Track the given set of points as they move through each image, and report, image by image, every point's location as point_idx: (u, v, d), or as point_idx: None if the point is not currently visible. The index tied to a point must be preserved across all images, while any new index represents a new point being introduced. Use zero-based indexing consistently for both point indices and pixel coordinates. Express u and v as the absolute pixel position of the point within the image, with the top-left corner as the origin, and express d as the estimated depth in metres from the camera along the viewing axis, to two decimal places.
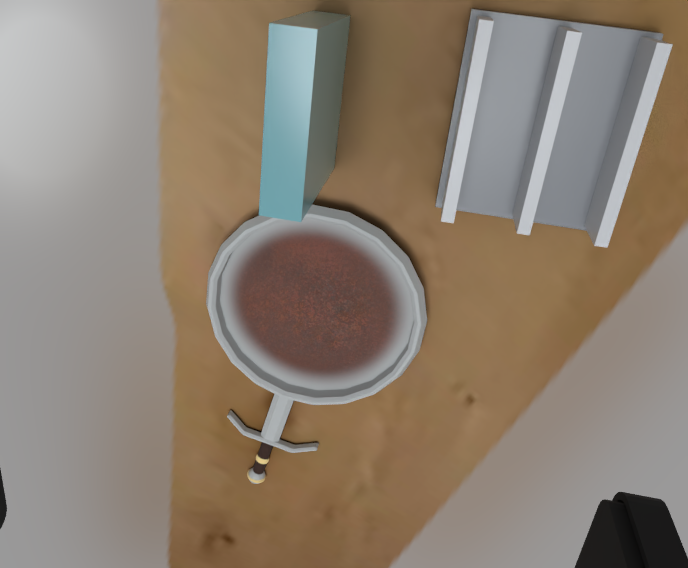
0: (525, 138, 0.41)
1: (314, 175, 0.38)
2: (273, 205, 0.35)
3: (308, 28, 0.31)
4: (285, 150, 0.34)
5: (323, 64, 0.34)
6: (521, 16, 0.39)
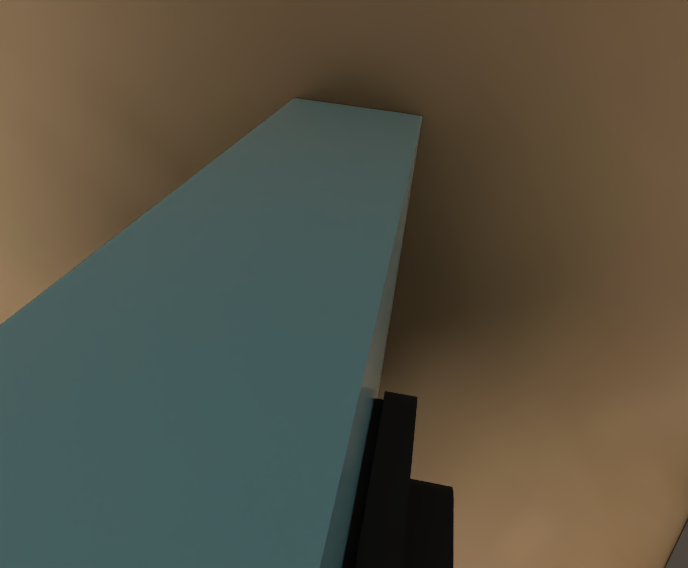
0: None
1: None
2: None
3: None
4: None
5: None
6: None
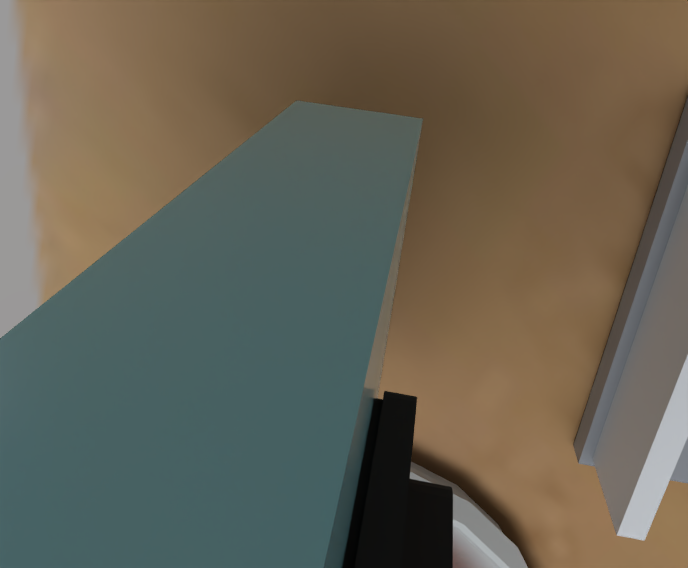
0: None
1: None
2: None
3: None
4: None
5: (338, 562, 0.05)
6: None
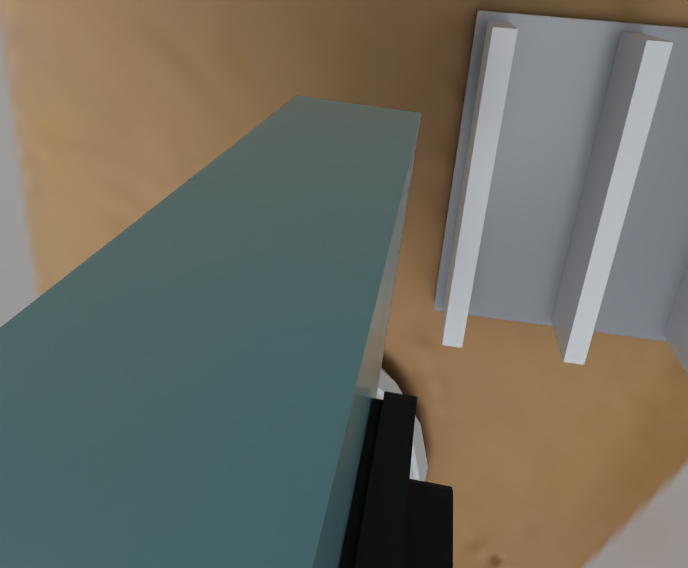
0: (569, 208, 0.26)
1: None
2: None
3: None
4: None
5: (338, 537, 0.05)
6: (559, 19, 0.24)
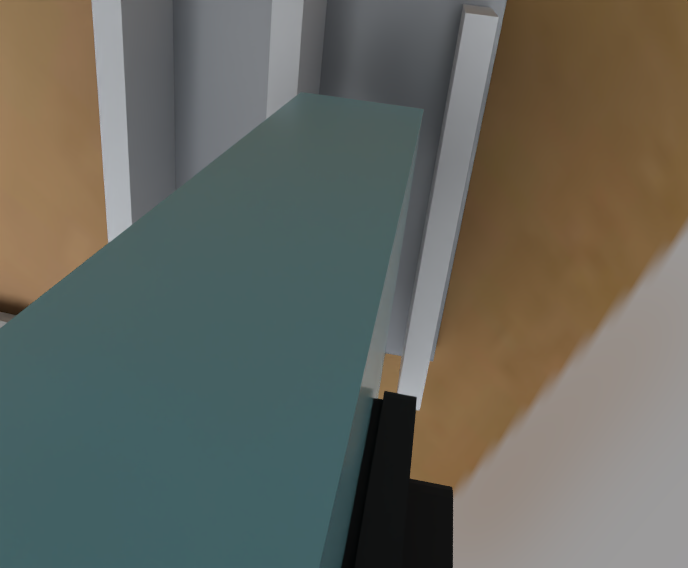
0: None
1: None
2: None
3: None
4: None
5: (346, 514, 0.06)
6: None
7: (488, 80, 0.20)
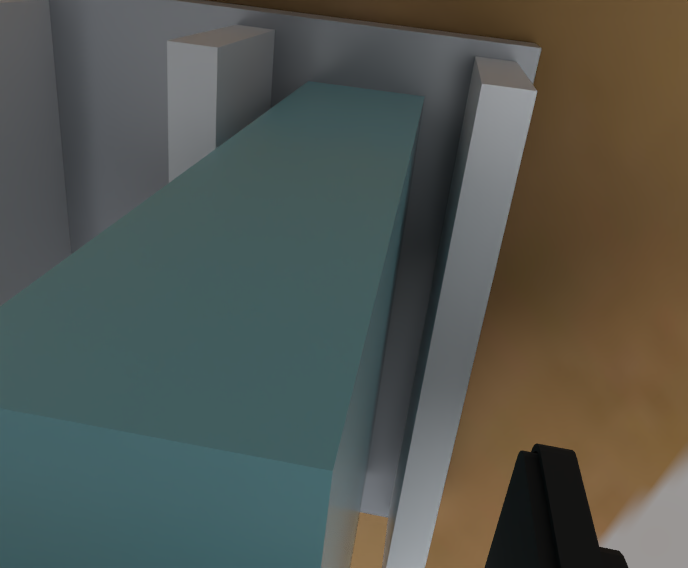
0: None
1: None
2: None
3: (247, 444, 0.03)
4: None
5: (358, 441, 0.06)
6: None
7: None
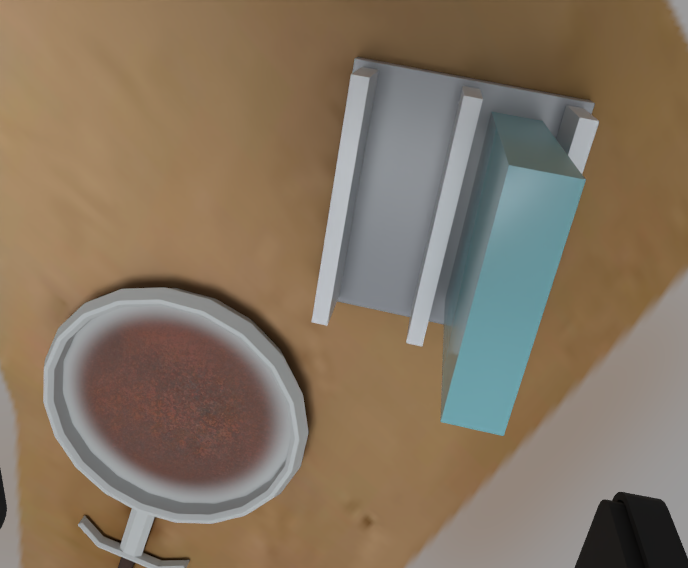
0: (424, 221, 0.33)
1: None
2: (464, 410, 0.24)
3: (569, 176, 0.20)
4: (499, 341, 0.23)
5: None
6: (417, 71, 0.30)
7: None
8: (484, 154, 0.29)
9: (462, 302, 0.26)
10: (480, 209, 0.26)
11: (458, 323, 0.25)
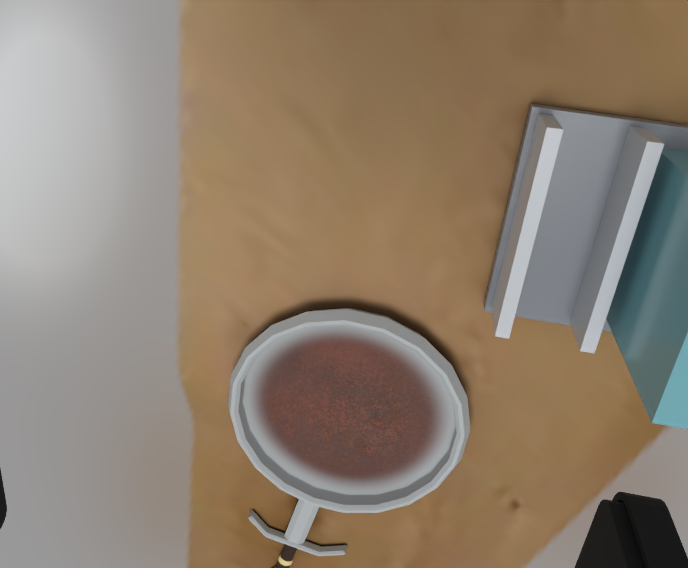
0: (587, 243, 0.37)
1: None
2: (674, 413, 0.29)
3: None
4: None
5: None
6: (588, 115, 0.34)
7: None
8: (654, 186, 0.34)
9: (660, 320, 0.30)
10: (670, 240, 0.30)
11: (658, 338, 0.30)
